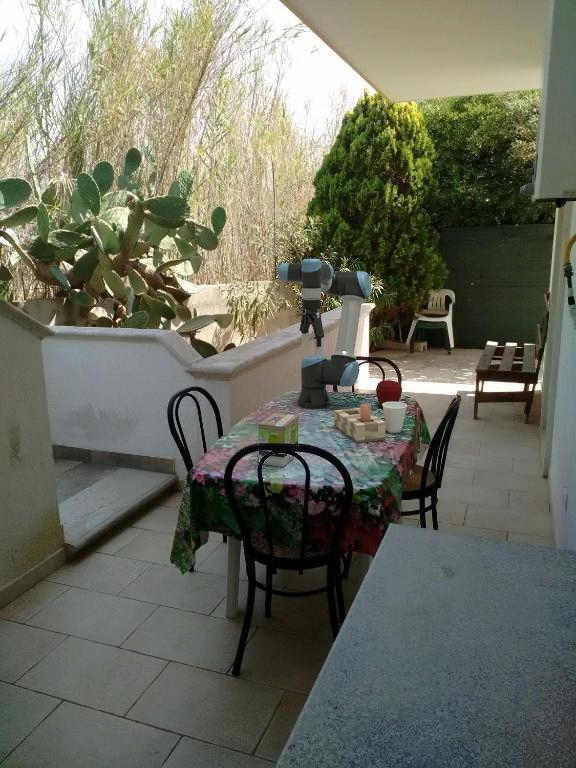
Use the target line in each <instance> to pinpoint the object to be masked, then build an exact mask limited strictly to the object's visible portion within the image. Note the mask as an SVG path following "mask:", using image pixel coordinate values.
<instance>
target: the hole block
mask: <svg viewBox="0 0 576 768" xmlns="http://www.w3.org/2000/svg"><path fill="white" fill-rule="evenodd" d="M333 428H335V429H336V430H337V431H338V432H340V431H341V433H342V434H343V435H345V436H347V437H348V438H349V439H350V440H351V441H353V442H355V443H356V444H360V443H369V442H376V441H383V440H386V422H385V420H382V419H381V418H379V417H377V416H375V415H374V414H372V413H371V422H364V423H361V422H360V407H357V408H356V407H355V408H347V409H337V410H333Z"/></svg>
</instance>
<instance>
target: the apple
mask: <svg viewBox="0 0 576 768" xmlns="http://www.w3.org/2000/svg"><path fill="white" fill-rule="evenodd" d="M375 393H376V398H377V400H378V404H380V406H382V404H383V403H385V402H400V400H401V397H402V394H403V387H402V384H401V383H400V382H398V381H396V380H391V379H386V380H385V379H384V380H380V381H379V382H378V383H377V385H376V388H375Z"/></svg>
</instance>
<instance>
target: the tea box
mask: <svg viewBox="0 0 576 768" xmlns="http://www.w3.org/2000/svg"><path fill="white" fill-rule="evenodd" d="M259 443H293V444H298V445H299V415H298V414H297V415H296V414H287V413H278V412H273V413H272V414H270V415H269V416H268V417H266V418H265V419H264V420H263V421H261V422H259V423H258V444H259ZM267 453H269V451H259V450H258V461H259V460H260V459H261V458H262V457H263V456H264V455H265V454H267ZM293 459H294V457H293V456H290V455H287V454H275V455H272V456H270V457H269V458H268V459H267V460H266V461H265V463H264V464H263V465H264V466H266V465H267V466H275V467H282V468H284V467H285V466H287V465H288V463H290V461H291V460H293Z"/></svg>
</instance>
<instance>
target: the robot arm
mask: <svg viewBox="0 0 576 768" xmlns="http://www.w3.org/2000/svg"><path fill="white" fill-rule="evenodd" d="M278 277H279V279H280V280H281V281H282V282H287V283H288V282H293V283H295V284H300V285H301V291H300V293H301V298H302V300H301V309H302V310H301V311H302V313H301V321H300V325H299V331H300V332H301V350H309V347H310V346H309V343H310V339H309V336H310V334H309V333H310V331H309V330H310V327H312V330H313V334H314V337H313V339H314V341H313V342H314V346H313V347H314V351H313V352H314V355H311V356H307V357H303V358H302V360H301V363H300V364H301V366H300V370H301V371H300V373H301V374H300V377H301V379H300V380H301V382H300V383H301V389H300V392H299V395H298V399H297V406H298V407H300V408H303V409H311V410H315V409H316V410H318V409H325V408H328V407H330V406H331V405H330V404H331V403H330V401H331V400H330V396H329V395H328V394H329V393H328V390H327V386H336V387H337V386H338V387H342V388H344V387H348V388H349V387H350V388H351V387H352V386H354V385H355V384H356V383H357V380H358V378H359V374H360V363H359V362H357V357H356V356H355V349H356V343H357V334H358V328H359V322H360V315H361V308H362V305H363V304H364V303H365V302H366V299H367V298H368V297H370V296H371V294H372V281H371V278H370V275H369V273H368V272H366V271H361V270H357V271H356V270H346V271H345V270H344V271H343V270H342V271H341V270H334V268H333V266H332V265H331V264H330V263H328V262H322V261H321V259H319V258H304V259H303V260H302V261H301V262H299V263H298V262H287V263H286V262H284V263H281V264H280V265H279V267H278ZM322 293H323V294H326V295H330V296H335V297H339V298H340V300H341V302H342V305H341V312H340V319H339V324H338V332H337V338H336V344H335V345H336V346H335V350H334V352H333V353H332V354H330V355H331V356H330V359H327V355H323V354H322V351H323V350H322V344H323V343H322V339H323V338H325V333H324V332H325V331H324V329H323V328H324V327H323V321H322V312H318V310H320V309H321V308H322V300H321V298H322Z"/></svg>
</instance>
